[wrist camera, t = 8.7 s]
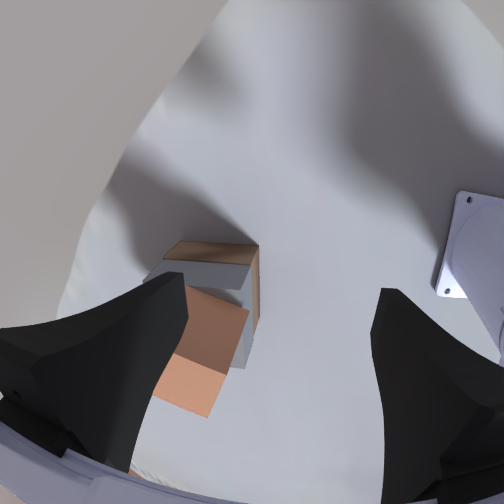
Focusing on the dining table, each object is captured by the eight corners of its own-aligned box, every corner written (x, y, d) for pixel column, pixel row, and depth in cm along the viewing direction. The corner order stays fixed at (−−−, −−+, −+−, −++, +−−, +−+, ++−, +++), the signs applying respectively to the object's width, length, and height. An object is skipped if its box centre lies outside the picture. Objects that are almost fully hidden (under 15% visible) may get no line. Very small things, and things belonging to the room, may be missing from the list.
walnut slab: (259, 245, 22) (250, 264, 19) (259, 315, 25) (252, 339, 22) (180, 240, 23) (163, 257, 21) (189, 307, 26) (175, 328, 23)
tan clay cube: (250, 310, 17) (226, 375, 13) (230, 356, 19) (207, 418, 14) (183, 283, 17) (142, 338, 13) (172, 332, 19) (137, 387, 15)
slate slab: (251, 265, 19) (240, 290, 17) (253, 340, 22) (244, 368, 19) (163, 259, 21) (142, 280, 18) (176, 329, 23) (160, 355, 20)
